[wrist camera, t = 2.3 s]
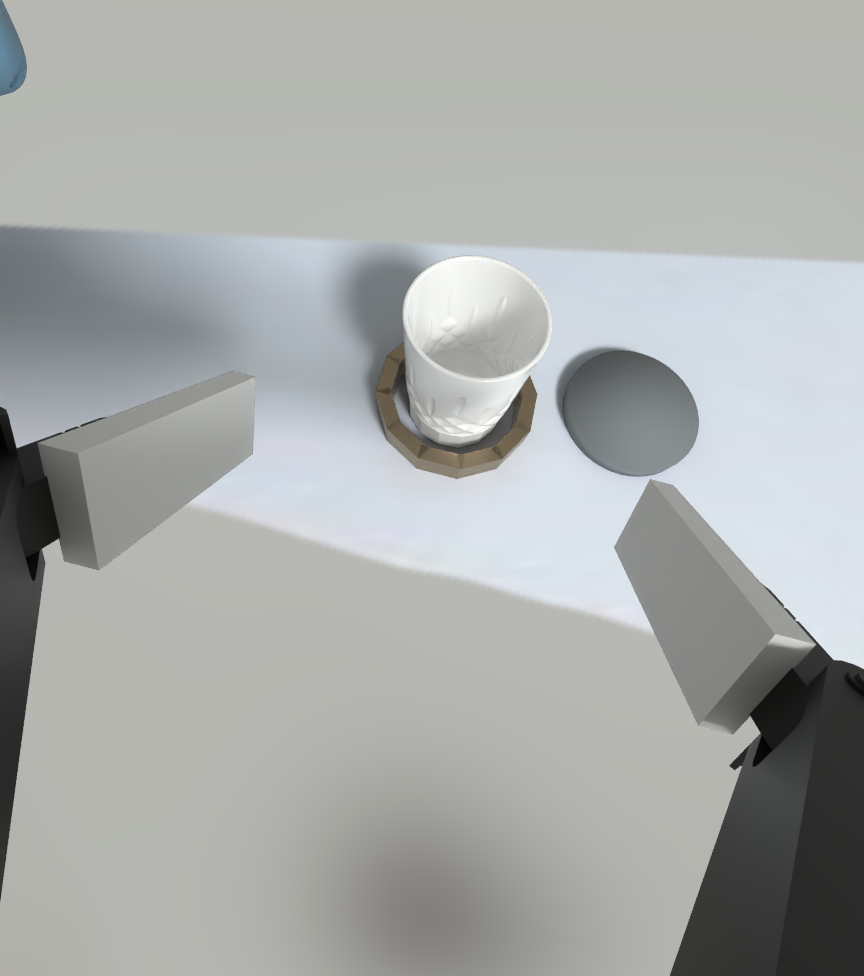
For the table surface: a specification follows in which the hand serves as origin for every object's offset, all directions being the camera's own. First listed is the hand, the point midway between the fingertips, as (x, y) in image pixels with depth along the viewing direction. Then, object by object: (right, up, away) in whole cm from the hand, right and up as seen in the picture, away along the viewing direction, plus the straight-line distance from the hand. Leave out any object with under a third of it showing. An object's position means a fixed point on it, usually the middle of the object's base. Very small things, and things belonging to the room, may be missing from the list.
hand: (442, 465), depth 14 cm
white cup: (+1, +5, +18) cm, 19 cm away
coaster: (+15, +5, +18) cm, 24 cm away
